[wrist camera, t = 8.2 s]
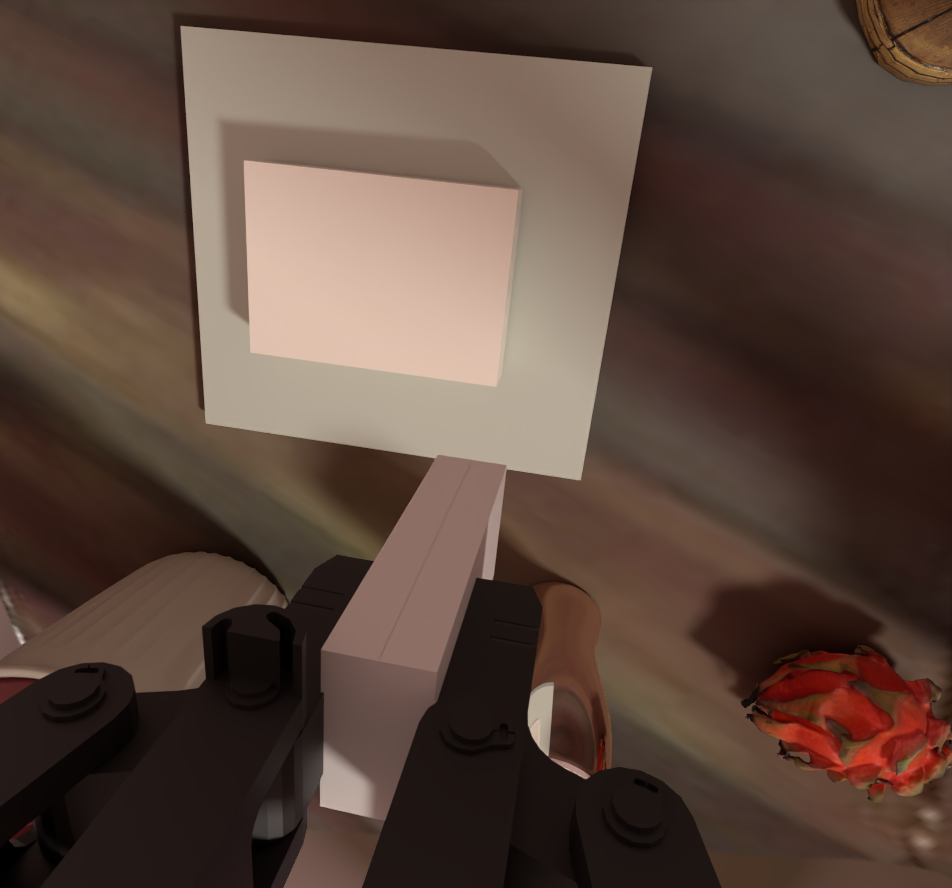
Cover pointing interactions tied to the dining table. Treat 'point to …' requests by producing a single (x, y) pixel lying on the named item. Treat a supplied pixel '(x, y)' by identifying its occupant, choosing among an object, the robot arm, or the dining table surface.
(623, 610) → the dining table surface
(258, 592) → the canister
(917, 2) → the wooden mug
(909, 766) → the dragon fruit
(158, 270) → the dining table surface
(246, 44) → the mat
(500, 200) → the pale pink rectangular block
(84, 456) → the dining table surface
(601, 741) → the beer glass
